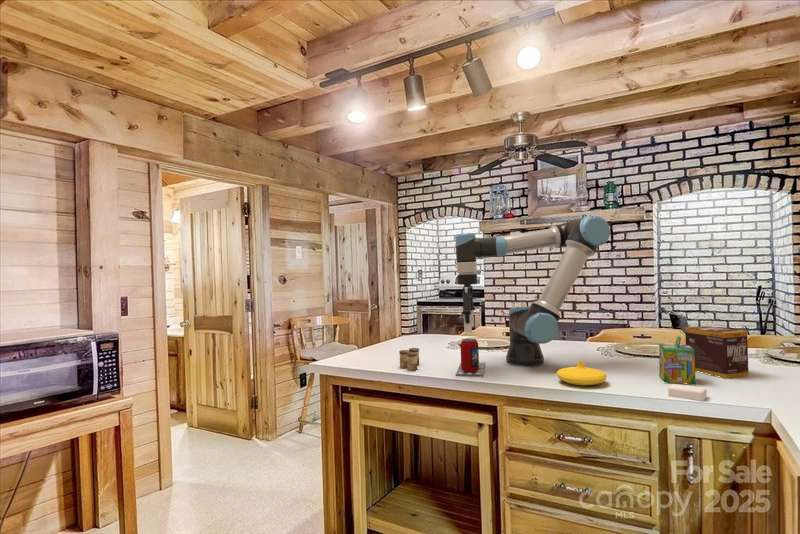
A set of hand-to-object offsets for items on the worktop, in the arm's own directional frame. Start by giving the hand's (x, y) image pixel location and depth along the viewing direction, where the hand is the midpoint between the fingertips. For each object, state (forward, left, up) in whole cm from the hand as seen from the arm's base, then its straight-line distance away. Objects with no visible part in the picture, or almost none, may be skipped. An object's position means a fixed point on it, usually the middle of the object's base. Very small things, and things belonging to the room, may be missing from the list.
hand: (469, 329), depth 167 cm
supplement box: (-86, -9, -17) cm, 88 cm away
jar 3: (+23, -3, -17) cm, 29 cm away
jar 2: (+24, -12, -17) cm, 32 cm away
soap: (-65, +23, -17) cm, 71 cm away
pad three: (0, 0, -17) cm, 17 cm away
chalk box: (-69, +4, -17) cm, 71 cm away
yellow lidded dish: (-38, +10, -17) cm, 42 cm away
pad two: (0, -11, -17) cm, 20 cm away
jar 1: (+27, -7, -17) cm, 33 cm away
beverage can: (0, 0, -16) cm, 16 cm away
